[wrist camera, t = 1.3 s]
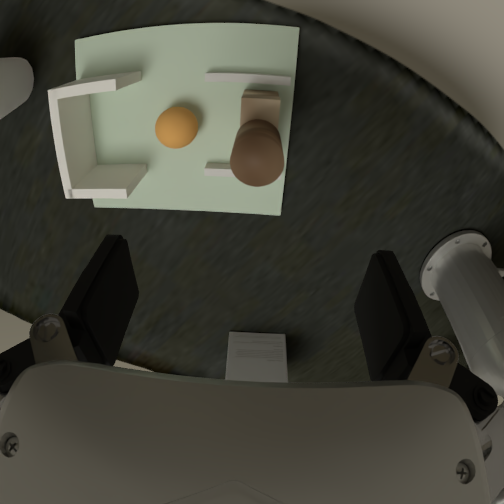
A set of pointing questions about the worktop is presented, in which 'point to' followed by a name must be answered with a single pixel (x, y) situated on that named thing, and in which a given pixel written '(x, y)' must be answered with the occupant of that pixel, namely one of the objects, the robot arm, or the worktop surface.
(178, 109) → the ball
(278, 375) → the supplement box
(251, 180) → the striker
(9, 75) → the foam cup
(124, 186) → the pitch
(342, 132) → the worktop surface
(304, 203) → the worktop surface
